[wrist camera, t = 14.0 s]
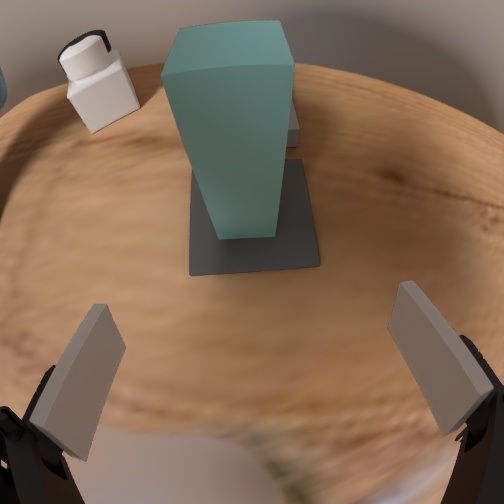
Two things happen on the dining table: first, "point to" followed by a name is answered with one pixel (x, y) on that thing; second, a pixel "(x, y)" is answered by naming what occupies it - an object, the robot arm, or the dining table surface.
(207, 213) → the mat
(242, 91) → the plug
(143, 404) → the dining table surface
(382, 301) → the dining table surface
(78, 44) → the medicine bottle
